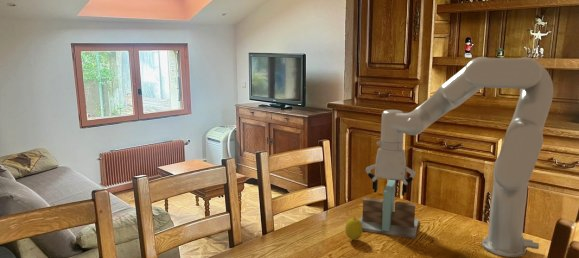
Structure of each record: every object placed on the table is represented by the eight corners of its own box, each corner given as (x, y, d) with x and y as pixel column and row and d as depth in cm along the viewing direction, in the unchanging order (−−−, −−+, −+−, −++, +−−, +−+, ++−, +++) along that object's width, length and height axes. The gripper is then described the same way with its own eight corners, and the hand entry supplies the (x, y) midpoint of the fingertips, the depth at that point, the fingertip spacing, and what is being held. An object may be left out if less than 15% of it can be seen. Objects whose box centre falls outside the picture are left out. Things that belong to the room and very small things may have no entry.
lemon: (356, 235, 146) (357, 213, 145) (365, 242, 141) (365, 219, 140) (342, 238, 145) (342, 215, 143) (350, 245, 139) (350, 222, 138)
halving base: (418, 221, 158) (419, 198, 156) (415, 238, 144) (416, 213, 143) (363, 214, 165) (364, 191, 163) (355, 229, 151) (356, 205, 149)
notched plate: (389, 231, 148) (390, 192, 145) (381, 230, 148) (383, 191, 146) (393, 216, 161) (395, 180, 158) (387, 215, 161) (388, 179, 159)
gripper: (364, 146, 149) (362, 193, 152) (416, 150, 143) (413, 199, 146) (368, 141, 155) (366, 186, 159) (418, 145, 150) (415, 192, 153)
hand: (389, 192), depth 152 cm, fingers open, 9 cm apart
